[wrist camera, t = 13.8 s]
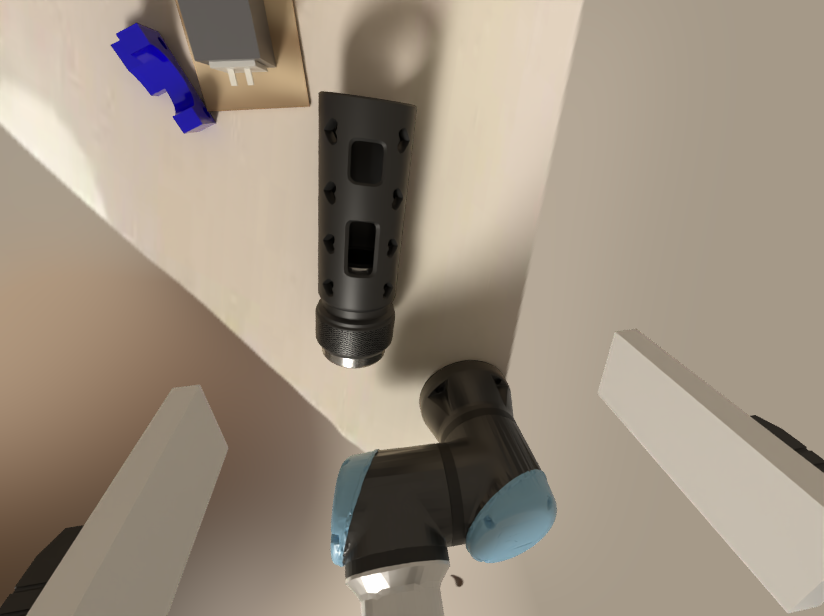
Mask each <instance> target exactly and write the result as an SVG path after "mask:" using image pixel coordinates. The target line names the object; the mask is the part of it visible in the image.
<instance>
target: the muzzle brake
mask: <svg viewBox="0 0 824 616" xmlns="http://www.w3.org/2000/svg"><path fill="white" fill-rule="evenodd" d="M416 112H417V107H416V106H415V105H411V104H406V103H401V102H395V101H389V100H383V99H377V98H370V97H363V96H356V95H349V94H342V93H334V92H324V91H321V92H320V93H319V195H318V226H319V233H318V237H319V242H318V293H319V295H320V297H321V299H320V300H319V303H318V304H317V307H316V338H317V341H318V343H319V344H320V345H321V346H322V352H323V354H324V356H325V357H326V358H327V359H328V360H329V361H330V362H332V363H334V364H336V365H339V366H342V367H346V368H362V367H367V366H370V365H373V364H375V363H376V362H378V361H379V360H380V359H381V358H382V357H383V355H384V353H385V349H386V348H387V347H388V346H389V345H390V343H391V341H392V337H393V329H394V321H395V310H394V308H393V305H392V303H391V302H392V301H393V300H394V297H395V292H396V283H397V275H398V266H399V257H400V249H401V240H402V232H403V223H404V215H405V206H406V197H407V189H408V180H409V172H410V163H411V154H412V146H413V137H414V129H415V120H416Z"/></svg>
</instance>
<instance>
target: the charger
mask: <svg viewBox="0 0 824 616" xmlns="http://www.w3.org/2000/svg"><path fill="white" fill-rule="evenodd" d="M178 4H179V7H180V11H181V14H182V18H183V21H184V25H185V28H186V32H187V35H188V39H189V42H190V46H191V49H192V53H193V56H194V59H195V61H197V62H200V63H203V64H207V65H210V68H212V69H216V70H219V71H223V72H226V73H228V75H229V79H230V82H231V86H238V83H237V79H236V75H235V73H245V75H246V79H247V84H248V85H254V80H253V76H252V72H268V69H267V68H275V67H276V62H275V57H274V52H273V47H272V42H271V36H270V31H269V26H268V21H267V16H266V11H265V6H264V1H263V0H178Z"/></svg>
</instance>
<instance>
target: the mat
mask: <svg viewBox="0 0 824 616" xmlns="http://www.w3.org/2000/svg"><path fill="white" fill-rule="evenodd" d="M263 1H264V6H265V11H266V16H267V21H268V26H269V31H270V36H271V42H272V47H273V52H274V57H275V62H276V67H275V68H267V69H268V72H252V76H253V80H254V85H248V84H247V79H246V75H245V73H235V75H236V79H237V83H238V86H231V82H230V79H229V75H228V73H226V72H223V71H219V70H216V69H212V68H210V65H207V64H203V63H200V62H197V61H195V59H194V56H193V53H192V49H191V46H190V42H189V39H188V35H187V32H186V28H185V25H184V21H183V18H182V14H181V11H180V7H179V4H178V0H175V2H176V5H177V8H178V12H179V15H180V19H181V22H182V26H183V29H184V33H185V36H186V39H187V43H188V46H189V50H190V53H191V57H192V60H193V64H194V67H195V70H196V74H197V77H198V81H199V84H200V88H201V91H202V95H203V98H204V102H205V105H206V108H207V112H209V111H229V110H249V109H268V108H288V107H308V106H310V104H309V98H308V92H307V86H306V80H305V74H304V67H303V61H302V55H301V49H300V43H299V37H298V31H297V25H296V19H295V12H294V6H293V0H263Z"/></svg>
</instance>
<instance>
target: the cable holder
mask: <svg viewBox="0 0 824 616" xmlns="http://www.w3.org/2000/svg"><path fill="white" fill-rule="evenodd" d="M116 35H117V37H118V38H119V40H120V41H118V42H116V43H114V44H112V45H111V46H112V48H113V49H114V51H115V52H116V53H117V55H118V56H119V58H120V59H121V61H122V62H123V63H124V65H125V66H126V68H127V69H128V71H129V72H131V73H132V74H133V75H134V76H135V77H136V78H137V79H138V80H139V81H140V82H141V83H142V85H143V86H144V87H145V88H146V89H147V91H148V92H149V93H150V95H151V96H159V95H161V94H163V93H165V92H167V93H168V94H169V96H170V98H171V100H172V102H173V104H174V107H175V111H176V114H175V116H173V118H174V120H175V121H176V123H177V124H178V126H179V127H180V129H181V130H182V131H183V133H184V134H185V133H192V132H199V131H201V130H203V129H205V128H207V127H209V126H211V125H213V124H215V123H216V122H215V120H214V119H213V117H212V116H211V114H210V113H209V112H207V108H206V106H205V105H204V103H203V102H202V100H201V98H200V97H199V95H198V94H197V92H196V90H195V89H194V87H193V86H192V84H191V83H190V81H189V79H188V78H187V76H186V75H185V73H184V71H183V70H182V68H181V67H180V65H179V64H178V62H177V60H176V59H175V57H174V56H173V54H172V53H171V51H170V49H169V48H168V46H167V45H166V43H165V41H164V40H163V38H162V37H161V35H160V34H159V32H158V31H155V30H153V29H150V28H148V27H145V26H143V25H141V24H138V23H135V24H133V25H132V26H130V27H128V28H126V29H124V30H122V31H120V32H118V33H117V34H116Z"/></svg>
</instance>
